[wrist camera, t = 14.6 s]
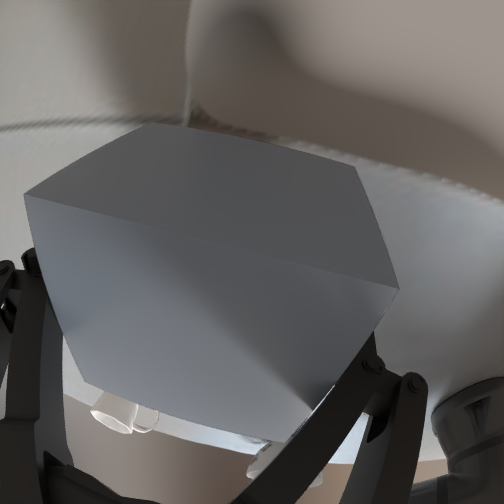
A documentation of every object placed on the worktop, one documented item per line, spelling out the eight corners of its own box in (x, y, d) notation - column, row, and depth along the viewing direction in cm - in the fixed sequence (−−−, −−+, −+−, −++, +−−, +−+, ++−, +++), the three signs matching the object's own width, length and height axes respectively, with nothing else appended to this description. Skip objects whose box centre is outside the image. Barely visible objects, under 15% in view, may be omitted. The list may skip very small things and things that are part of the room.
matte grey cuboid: (354, 166, 14) (399, 288, 7) (298, 315, 20) (284, 443, 12) (151, 122, 14) (23, 194, 7) (148, 275, 20) (84, 381, 13)
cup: (113, 362, 41) (90, 405, 34) (172, 394, 42) (155, 438, 35) (108, 378, 44) (88, 416, 38) (160, 406, 46) (144, 445, 39)
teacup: (289, 420, 41) (282, 468, 34) (341, 442, 44) (338, 482, 37) (232, 438, 49) (223, 476, 42) (282, 457, 52) (276, 492, 45)
